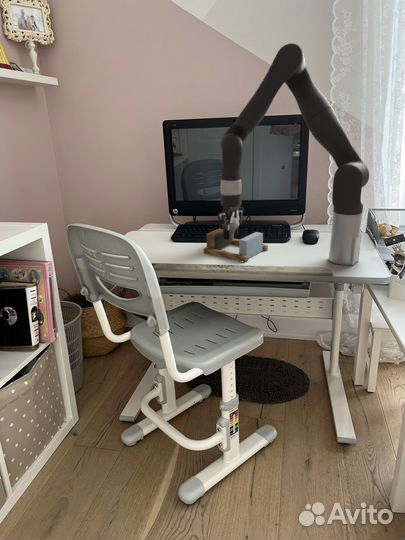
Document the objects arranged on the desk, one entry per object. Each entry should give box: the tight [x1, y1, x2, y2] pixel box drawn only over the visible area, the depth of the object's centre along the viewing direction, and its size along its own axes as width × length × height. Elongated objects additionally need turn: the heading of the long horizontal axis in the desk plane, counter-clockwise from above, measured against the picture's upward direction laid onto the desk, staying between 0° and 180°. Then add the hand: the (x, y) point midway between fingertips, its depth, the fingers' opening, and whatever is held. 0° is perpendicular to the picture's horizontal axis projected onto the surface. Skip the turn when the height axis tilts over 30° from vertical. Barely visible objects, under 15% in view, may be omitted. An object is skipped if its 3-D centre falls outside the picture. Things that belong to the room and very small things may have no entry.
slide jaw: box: [238, 231, 264, 260], centre depth 155 cm, size 3×12×7 cm, turn 144°
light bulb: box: [226, 217, 239, 242], centre depth 158 cm, size 5×6×10 cm
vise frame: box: [203, 228, 269, 263], centre depth 158 cm, size 18×16×7 cm
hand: (230, 237), depth 159 cm, fingers closed on light bulb, 5 cm apart
